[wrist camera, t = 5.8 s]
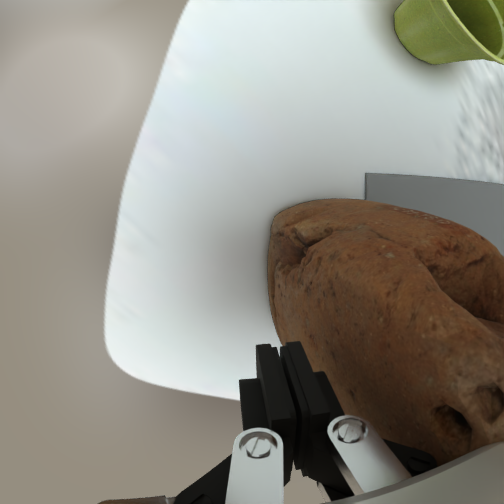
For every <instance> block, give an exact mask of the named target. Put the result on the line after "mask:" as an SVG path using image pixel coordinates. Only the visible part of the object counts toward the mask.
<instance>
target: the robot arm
mask: <svg viewBox="0 0 504 504" xmlns="http://www.w3.org/2000/svg"><path fill="white" fill-rule="evenodd" d="M256 369H257V378H255V379H241V380H239V388H240V401H241V412H242V421H243V432H242V433H241V434H239V435H238V437H237V438H236V439H235V442H234V446H233V452H232V454H231V455H230V456H228V457H227V458H226V459H225V460H223V461H222V462H221V463H220V464H218V465H217V466H216V467H214V468H213V469H212V470H211V471H209V472H208V473H207V474H205V475H204V476H203V477H201V478H200V479H199V480H197V481H196V482H194V483H193V484H192V485H190V486H189V487H187V488H186V489H185V490H183V491H182V492H181V493H180V494H179V495H177V496H176V497H168V498H166V496H165V495H164V496H155V497H145V498H133V499H116V500H115V499H114V500H105V501H101V502H100V503H98V504H283V487H284V486H285V485H286V484H287V483H288V482H289V481H290V476H291V471H292V465H293V461H294V465H295V469H296V470H299V469H301V471H302V475H303V477H304V476H308V477H309V478H311V479H313V480H315V481H317V487H318V489H319V491H320V493H321V495H322V497H323V499H324V500H325V502H326V503H322V504H504V441H503V442H497V443H493V444H490V445H486V446H483V447H481V448H478V449H476V450H474V451H472V452H470V453H467V454H465V455H463V456H461V457H459V458H457V459H455V460H453V461H450V462H448V463H446V464H444V465H441V466H439V467H438V466H437V461H436V460H435V458H434V457H433V456H432V455H431V454H429V453H427V452H425V451H422V450H418V449H415V448H411V447H408V446H405V445H401V444H398V443H395V442H392V441H389V440H386V439H383V438H381V437H380V436H379V434H378V433H377V432H376V430H375V429H374V428H373V427H372V425H371V424H370V423H369V422H368V421H367V420H366V419H364V418H362V417H360V416H355V415H345V413H344V411H343V409H342V407H341V405H340V403H339V401H338V398H337V396H336V394H335V392H334V390H333V388H332V386H331V384H330V382H329V379H328V377H327V375H326V373H325V372H324V371H318V372H313V369H312V367H311V365H310V362H309V360H308V358H307V355H306V353H305V351H304V348H303V346H302V344H301V342H300V341H294V342H286V343H285V346H281V347H280V357H279V354H278V350H277V347H271V344H261V345H256Z"/></svg>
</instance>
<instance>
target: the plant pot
mask: <svg viewBox="0 0 504 504" xmlns="http://www.w3.org/2000/svg"><path fill="white" fill-rule="evenodd" d="M394 17H395V31H396V33H397V36H398V38H399V39H400V41H401V42H402V44H403V45H404V46H405V48H406V49H407V50H408V51H409V52H410V53H411V54H412V55H414V56H415V57H416V58H418V59H421V60H423V61H426V62H428V63H430V64H443V63H450V62H457V61H466V60H478V59H485V60H488V61H495V62H498V63H500V64H502V65H504V0H404V1H403V2H402V3H401V5H400V6H399V7H398V8H397V10H396V11H395V13H394Z"/></svg>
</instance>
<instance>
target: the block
mask: <svg viewBox="0 0 504 504" xmlns="http://www.w3.org/2000/svg"><path fill="white" fill-rule="evenodd" d="M268 292H269V301H270V308H271V313H272V318H273V322H274V325H275V329H276V332H277V335H278V337H279V339H280V341H281V344H282V346H285V343H286V342H294V341H300V342H301V344H302V346H303V348H304V351H305V353H306V355H307V358H308V360H309V362H310V365H311V367H312V369H313V372H318V371H324V372H325V373H326V375H327V377H328V379H329V382H330V384H331V386H332V388H333V390H334V392H335V394H336V396H337V398H338V401H339V403H340V405H341V407H342V409H343V411H344V413H345V415H355V416H360V417H362V418H364V419H366V420H367V421H368V422H369V423H370V424H371V425H372V427H373V428H374V429H375V430H376V432H377V433H378V434H379V436H380V437H381V438H383V439H386V440H389V441H392V442H395V443H398V444H401V445H405V446H408V447H411V448H415V449H418V450H422V451H425V452H427V453H429V454H431V455H432V456H433V457H434V458H435V460H436V461H437V466H438V467H439V466H441V465H444V464H446V463H448V462H450V461H453V460H455V459H457V458H459V457H461V456H463V455H465V454H467V453H470V452H472V451H474V450H476V449H478V448H481V447H483V446H486V445H490V444H493V443H497V442H503V441H504V256H502V255H501V254H500V252H499V250H498V249H497V247H496V246H494V245H493V244H492V243H491V242H490V241H488V240H487V239H486V238H485V237H483V236H481V235H480V234H478V233H477V232H475V231H473V230H472V229H470V228H468V227H465V226H463V225H461V224H459V223H456V222H454V221H451V220H448V219H445V218H442V217H439V216H435V215H432V214H429V213H425V212H422V211H419V210H414V209H408V208H403V207H399V206H395V205H391V204H386V203H380V202H374V201H368V200H359V199H322V200H314V201H310V202H305V203H301V204H298V205H296V206H293V207H291V208H288V209H286V210H284V211H282V212H280V213H279V214H278V215H276V216H275V217H274V220H273V223H272V226H271V237H270V245H269V252H268Z"/></svg>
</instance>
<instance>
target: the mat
mask: <svg viewBox="0 0 504 504" xmlns="http://www.w3.org/2000/svg"><path fill="white" fill-rule="evenodd" d="M365 200H368V201H374V202H380V203H386V204H391V205H395V206H399V207H403V208H408V209H414V210H419V211H422V212H425V213H429V214H432V215H435V216H439V217H442V218H445V219H448V220H451V221H454V222H456V223H459V224H461V225H463V226H465V227H468V228H470V229H472V230H473V231H475V232H477V233H478V234H480V235H481V236H483V237H485V238H486V239H487V240H488V241H490V242H491V243H492V244H493V245H494V246H496V247H497V249H498V250H499V252H500V254H501V255H502V256H504V185H503V184H496V183H488V182H479V181H470V180H461V179H450V178H439V177H426V176H412V175H395V174H373V173H366V192H365Z"/></svg>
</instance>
